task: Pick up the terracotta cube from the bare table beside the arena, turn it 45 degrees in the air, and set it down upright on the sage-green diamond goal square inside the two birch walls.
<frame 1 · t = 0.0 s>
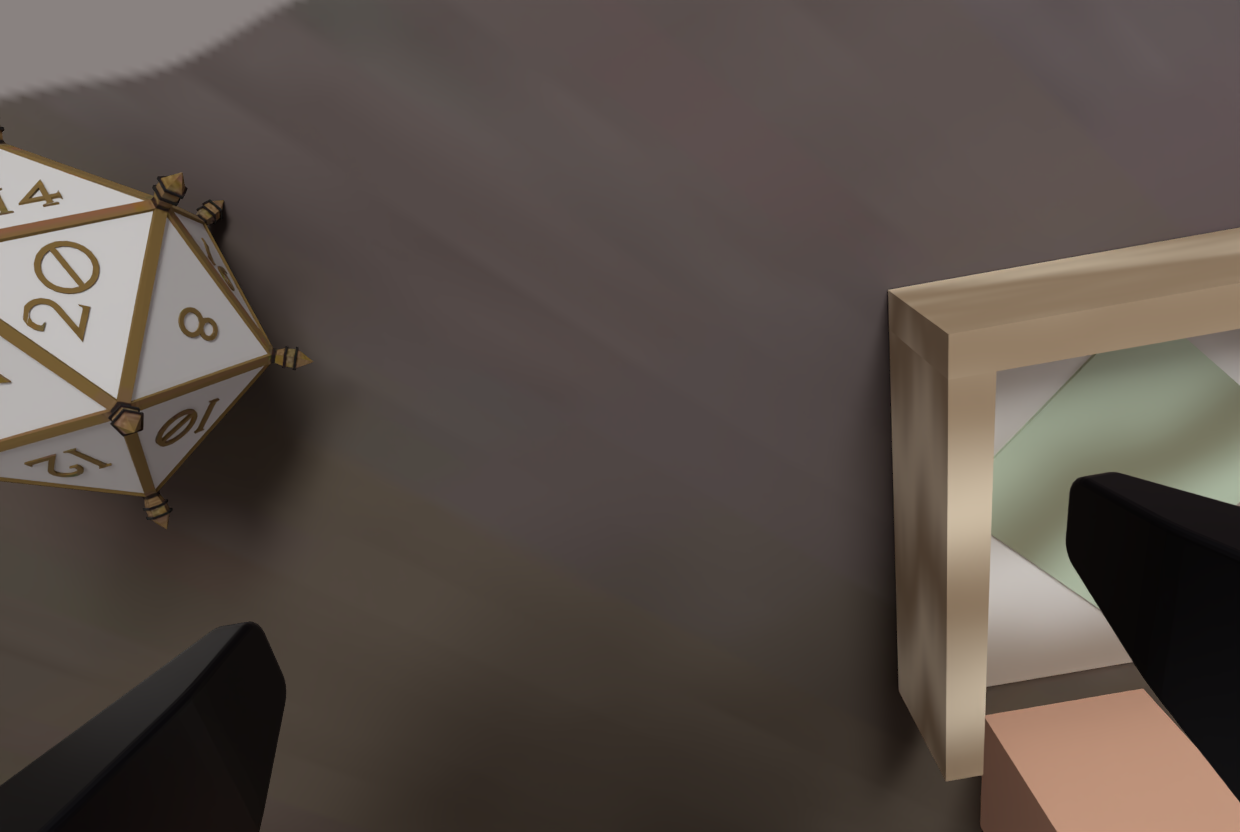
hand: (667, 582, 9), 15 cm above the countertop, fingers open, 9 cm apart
cube: (1057, 758, 31), on the countertop
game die: (162, 281, 22), on the countertop
arena: (1142, 486, 26), on the countertop
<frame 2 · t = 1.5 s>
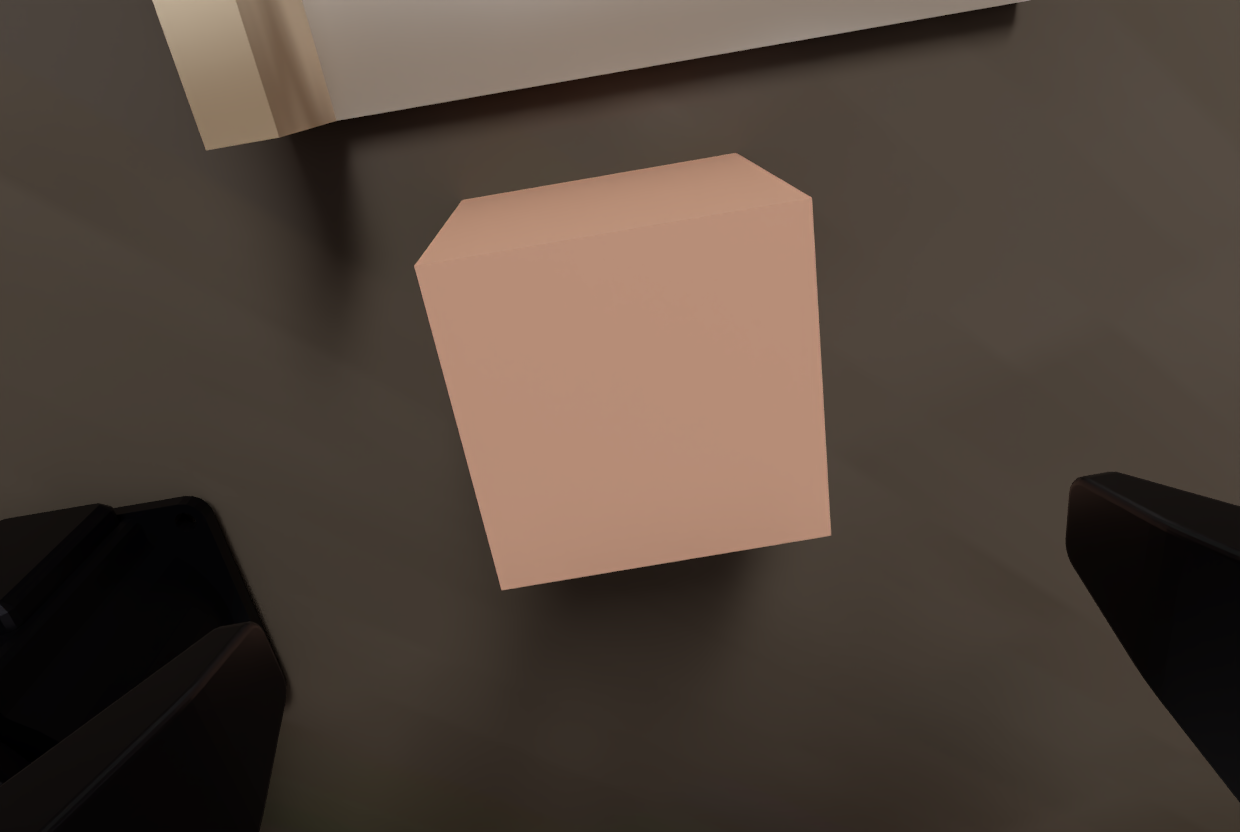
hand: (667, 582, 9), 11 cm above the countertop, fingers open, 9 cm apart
cube: (620, 307, 19), on the countertop
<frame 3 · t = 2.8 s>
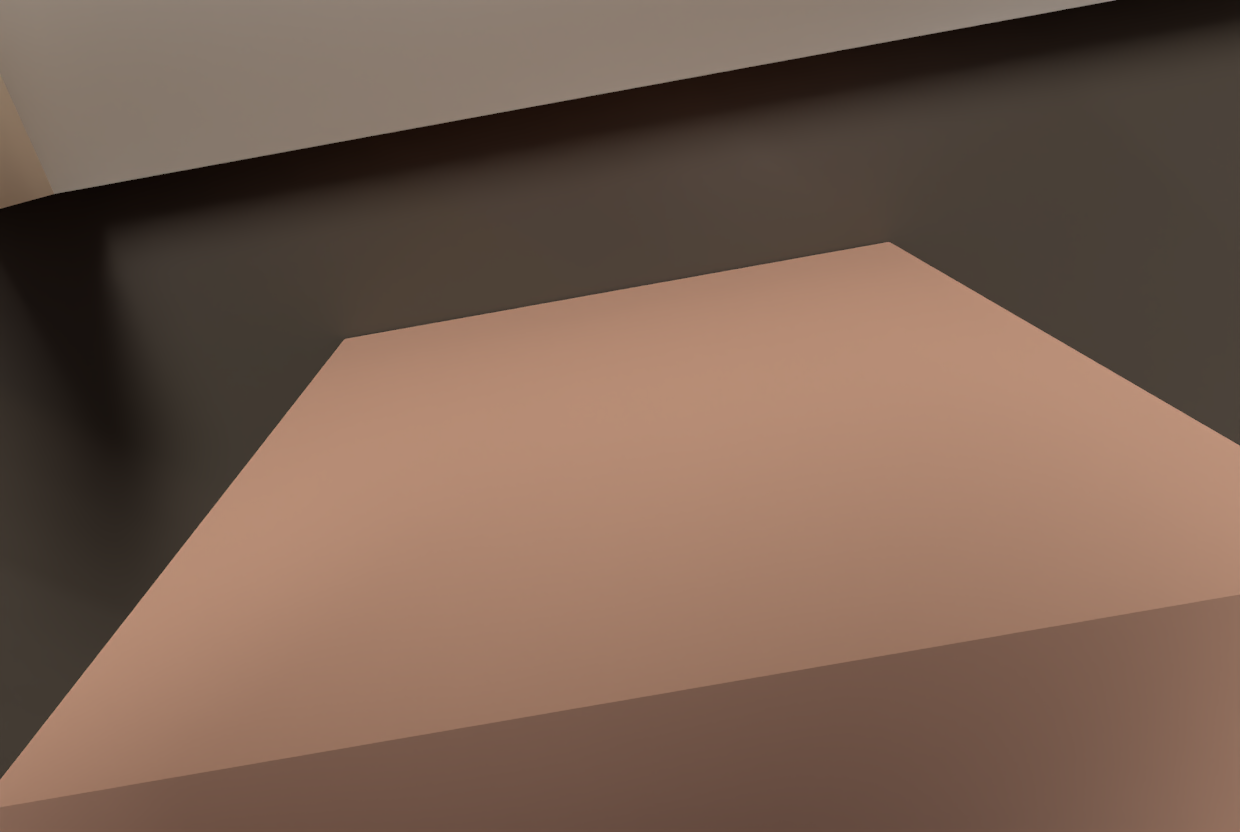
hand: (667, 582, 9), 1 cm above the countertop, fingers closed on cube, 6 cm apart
cube: (655, 523, 10), on the countertop, touching gripper
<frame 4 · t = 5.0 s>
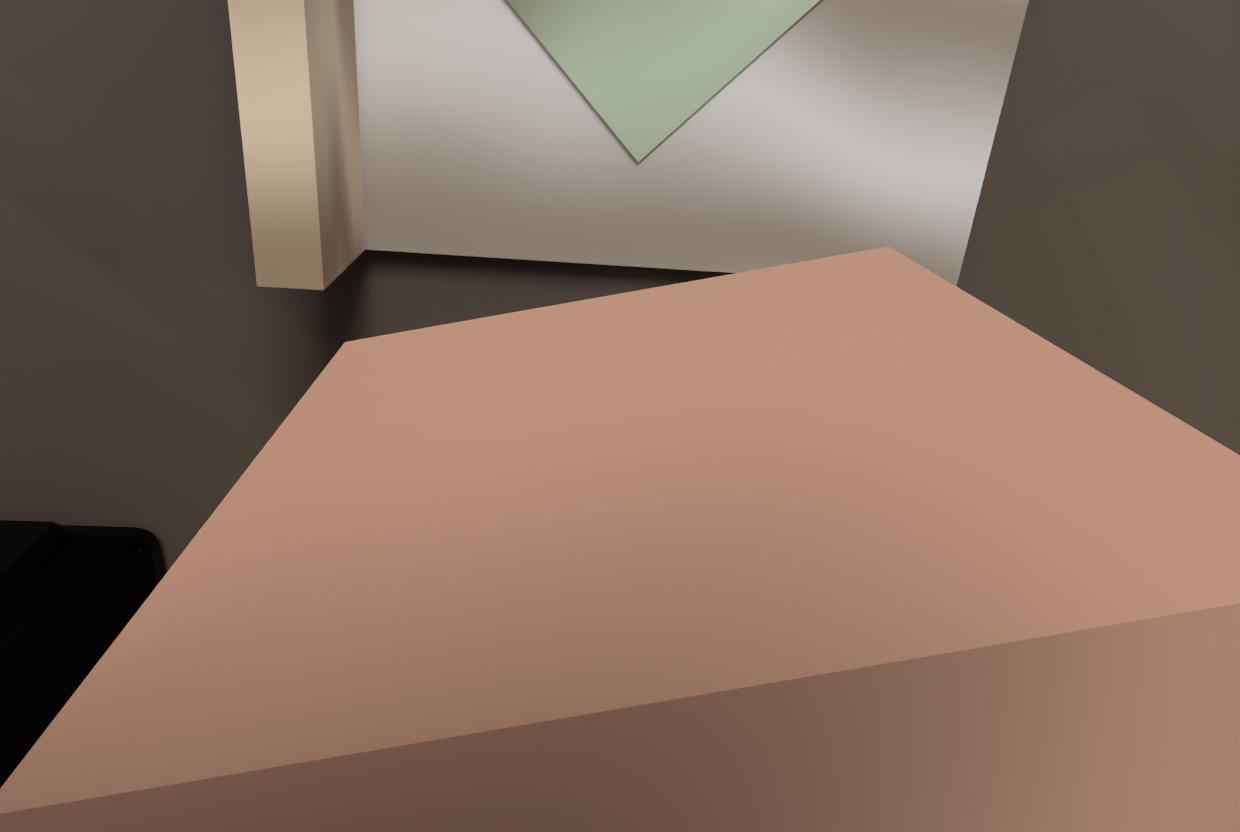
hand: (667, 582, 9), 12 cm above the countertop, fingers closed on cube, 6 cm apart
cube: (655, 526, 10), point 10 cm above the countertop, touching gripper
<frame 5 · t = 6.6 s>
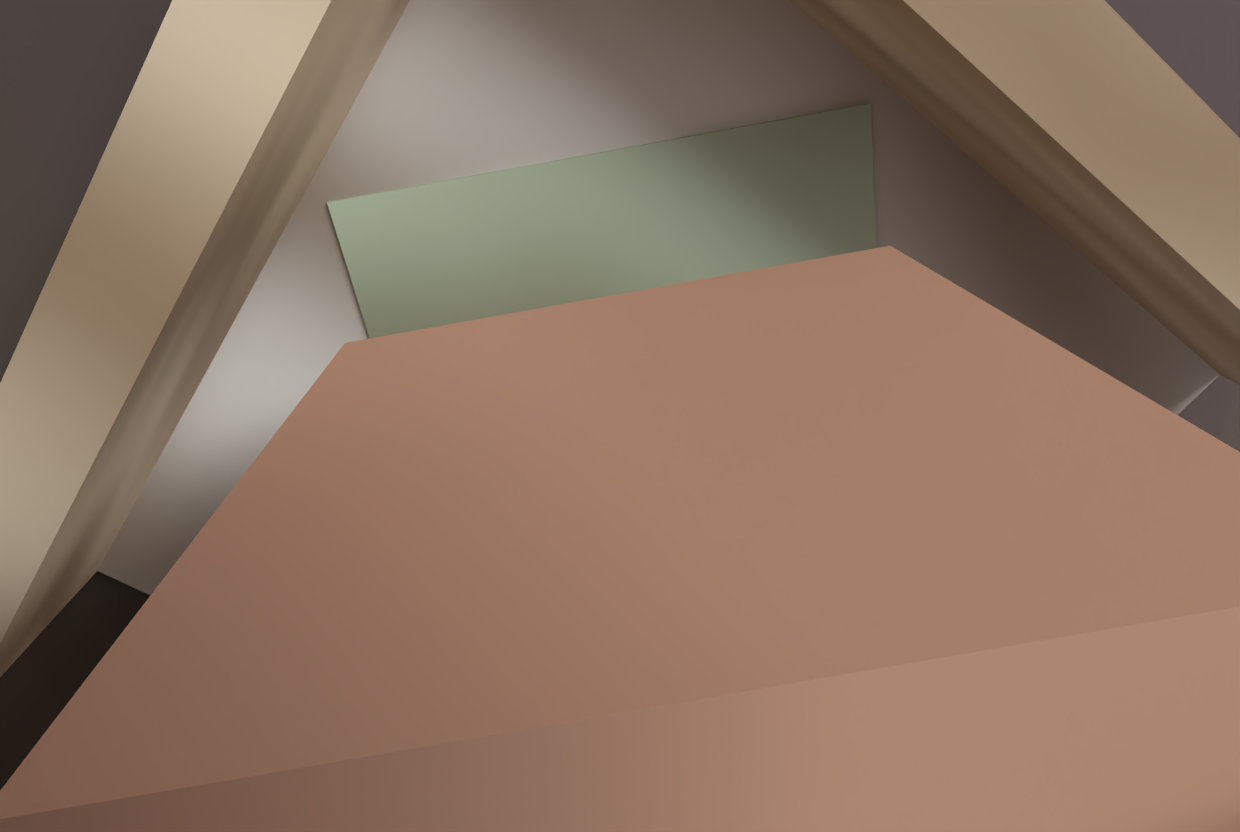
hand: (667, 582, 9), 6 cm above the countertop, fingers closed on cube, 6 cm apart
cube: (656, 526, 10), point 4 cm above the countertop, touching gripper
arena: (649, 460, 14), on the countertop
when the fingers open (3 cm above the countertop, at t = 7.5 s): cube drops 1 cm, resting on arena.
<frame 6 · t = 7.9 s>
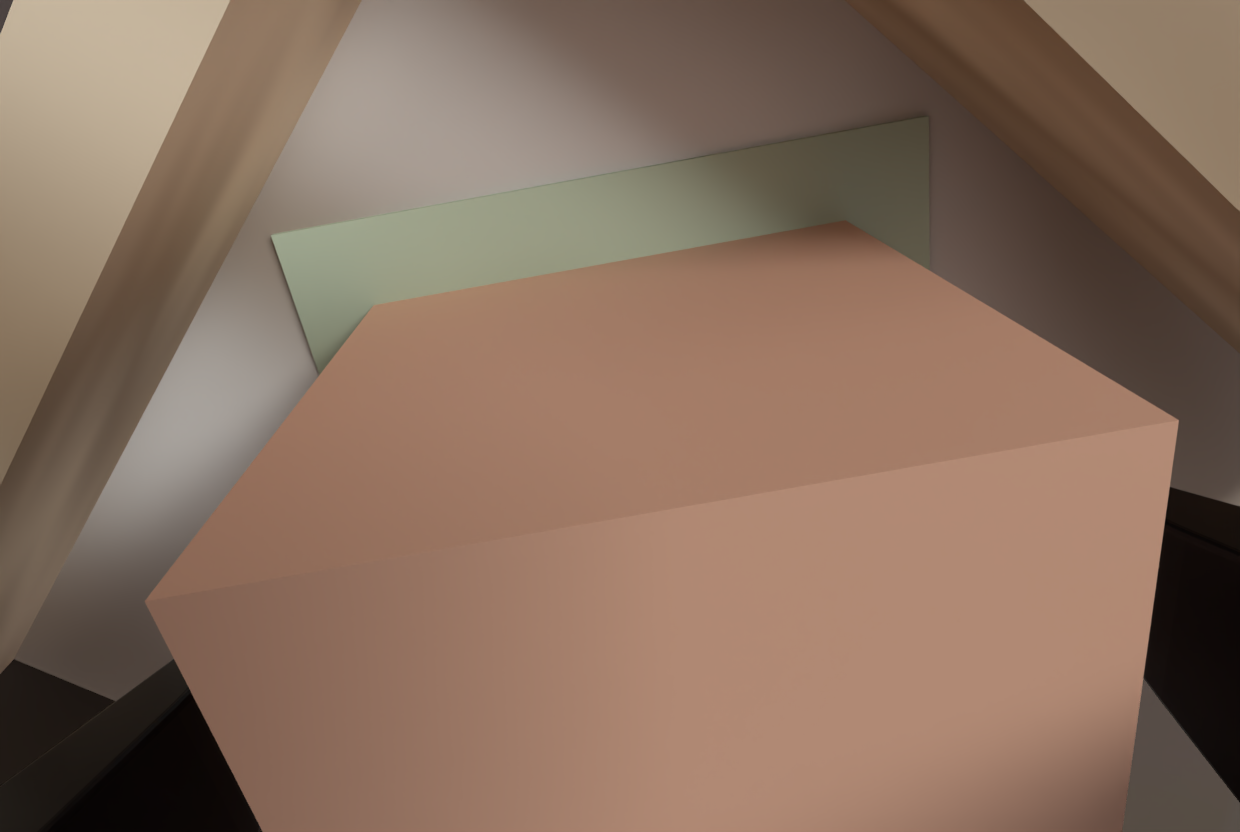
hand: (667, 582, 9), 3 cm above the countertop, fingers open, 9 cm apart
cube: (644, 470, 11), point 1 cm above the countertop, touching arena
arena: (658, 528, 12), on the countertop
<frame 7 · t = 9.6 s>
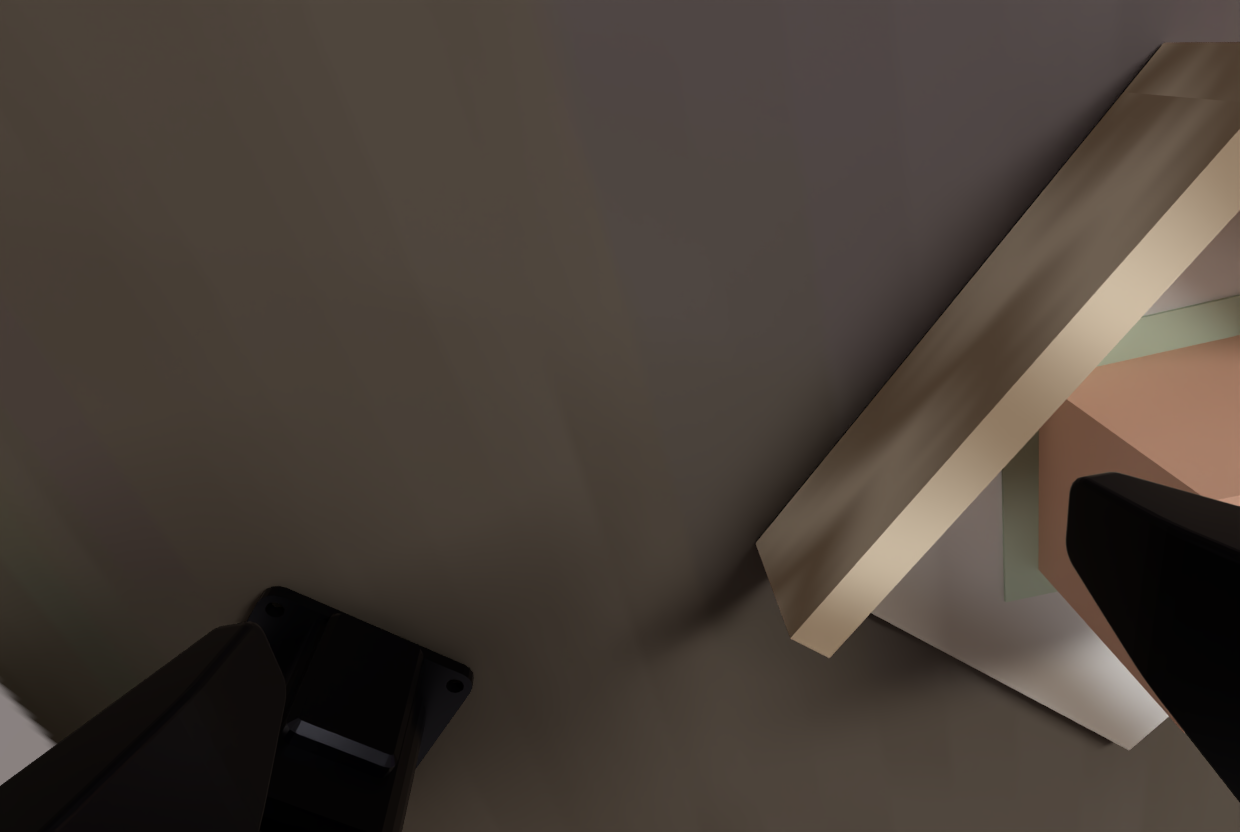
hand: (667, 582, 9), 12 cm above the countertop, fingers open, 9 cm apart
cube: (1150, 455, 21), point 1 cm above the countertop, touching arena
arena: (1135, 487, 23), on the countertop
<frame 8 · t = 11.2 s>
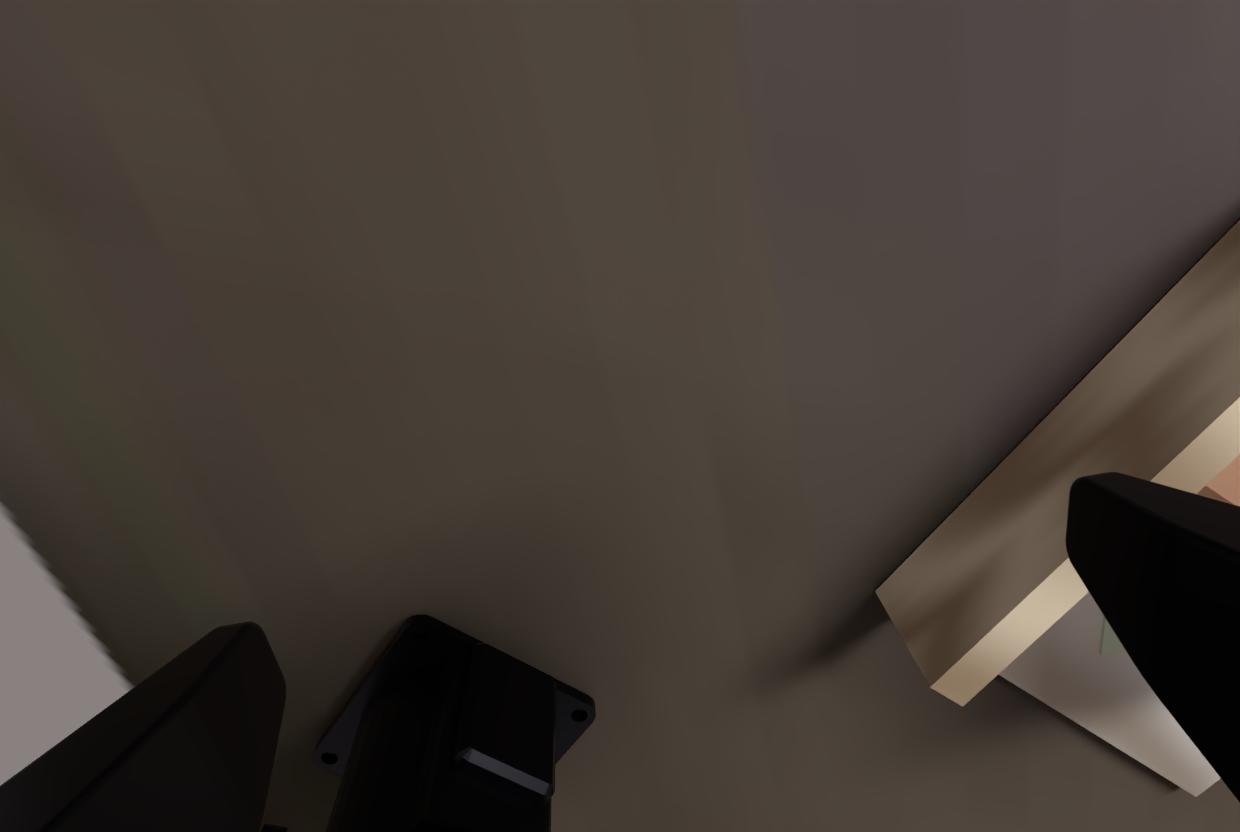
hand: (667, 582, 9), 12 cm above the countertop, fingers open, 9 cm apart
arena: (1228, 553, 24), on the countertop
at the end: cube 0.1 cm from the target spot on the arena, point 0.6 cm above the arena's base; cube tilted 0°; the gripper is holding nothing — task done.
